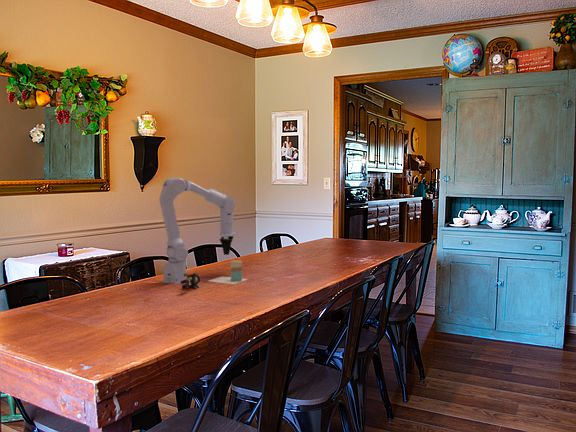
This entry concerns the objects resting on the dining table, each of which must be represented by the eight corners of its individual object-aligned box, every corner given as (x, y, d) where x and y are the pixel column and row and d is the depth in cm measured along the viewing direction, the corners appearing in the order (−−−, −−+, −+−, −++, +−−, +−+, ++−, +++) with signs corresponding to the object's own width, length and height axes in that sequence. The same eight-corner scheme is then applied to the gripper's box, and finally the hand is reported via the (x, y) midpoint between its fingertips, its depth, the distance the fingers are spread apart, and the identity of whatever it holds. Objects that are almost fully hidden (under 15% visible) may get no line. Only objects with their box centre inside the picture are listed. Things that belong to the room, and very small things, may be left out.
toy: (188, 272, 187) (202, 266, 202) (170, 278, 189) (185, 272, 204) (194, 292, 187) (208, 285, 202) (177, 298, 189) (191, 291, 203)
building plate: (234, 285, 205) (234, 284, 205) (206, 282, 211) (206, 280, 211) (247, 280, 215) (247, 279, 215) (221, 277, 221) (221, 276, 221)
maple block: (241, 271, 211) (241, 262, 211) (230, 271, 210) (230, 262, 210) (241, 269, 215) (241, 260, 215) (231, 269, 215) (231, 260, 215)
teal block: (241, 281, 211) (241, 271, 211) (231, 281, 211) (231, 271, 210) (241, 278, 216) (241, 269, 215) (231, 279, 215) (231, 269, 215)
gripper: (235, 224, 216) (235, 255, 217) (236, 221, 231) (236, 250, 231) (218, 224, 216) (218, 255, 217) (220, 221, 230) (220, 251, 231)
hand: (226, 253), depth 224 cm, fingers open, 7 cm apart
